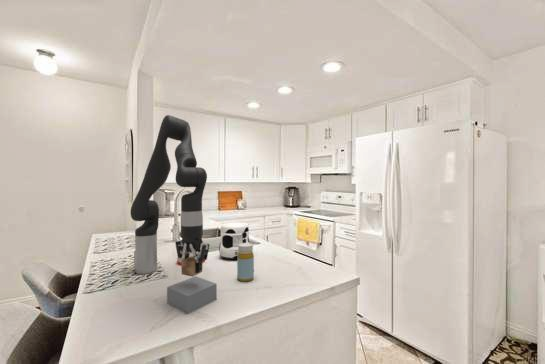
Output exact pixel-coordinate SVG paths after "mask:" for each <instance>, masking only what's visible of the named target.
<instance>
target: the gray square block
mask: <svg viewBox="0 0 545 364" xmlns="http://www.w3.org/2000/svg"><path fill="white" fill-rule="evenodd" d="M217 284H218V283H215V282H213V281H210V280H207V279H204V278H201V277H198V276H197V275H195V276H193V277H192V276H191V277H190V278H187V279H185V280H182V281H179V282H177V283H174V284H172V285H169V286H167V287H166V303H167V304H168V305H170V306H171V307H173V308H176V309H178V310H180V311H182V312H184V313H186V314H188V315H189V314H191V313H193V312H195V311H197V310H198V309H200V308H202V307H204V306H206V305H209V304H211V303H212V302H214V301H217V291H218V290H217V288H218V287H217Z"/></svg>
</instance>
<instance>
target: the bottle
mask: <svg viewBox="0 0 545 364" xmlns="http://www.w3.org/2000/svg"><path fill="white" fill-rule="evenodd" d="M253 246H254V245H253V243H251V242H249V243H241V244H239V245H238V255H237V259H236V261H237V272H236V273H237V277H236V278H237V280H238V281H239V282H241V283H248V282H251V281H253V280H254V278H255V276H254V275H255V274H254V273H255V271H254V270H255V268H254V263H255V262H254V260H255V256H254V251H253V249H254V247H253Z"/></svg>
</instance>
